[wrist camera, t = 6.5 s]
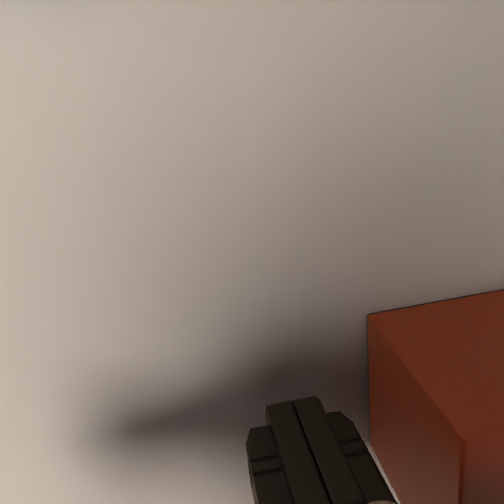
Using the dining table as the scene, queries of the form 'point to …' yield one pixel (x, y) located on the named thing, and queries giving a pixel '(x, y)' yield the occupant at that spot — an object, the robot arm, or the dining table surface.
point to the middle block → (440, 399)
